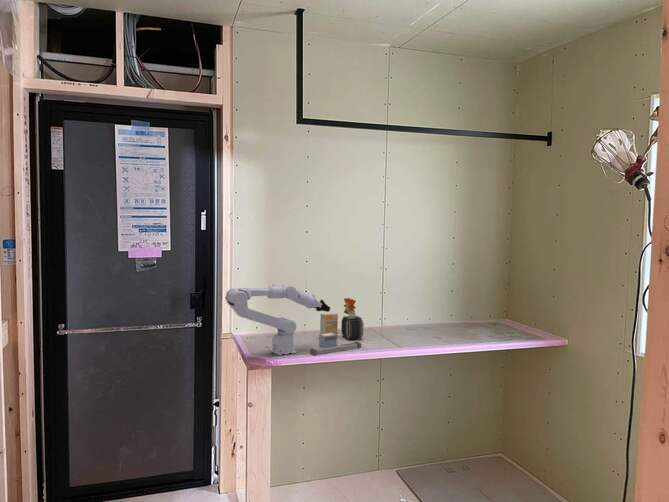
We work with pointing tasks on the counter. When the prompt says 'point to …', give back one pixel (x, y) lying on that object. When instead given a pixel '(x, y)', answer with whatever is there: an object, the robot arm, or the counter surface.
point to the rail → (335, 348)
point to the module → (327, 340)
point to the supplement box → (328, 323)
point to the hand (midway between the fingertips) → (325, 308)
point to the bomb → (351, 322)
